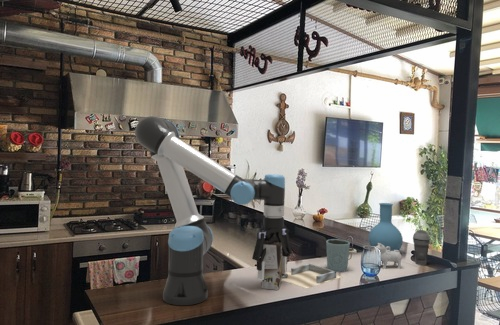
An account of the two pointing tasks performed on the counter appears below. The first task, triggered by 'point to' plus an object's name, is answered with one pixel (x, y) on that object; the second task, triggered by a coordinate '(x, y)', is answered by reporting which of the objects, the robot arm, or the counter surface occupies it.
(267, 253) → the coffee box
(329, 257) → the green mug
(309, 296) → the counter surface
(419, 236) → the beverage cup
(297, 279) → the notched board
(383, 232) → the vase
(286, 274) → the bobbin
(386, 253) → the white animal figurine
